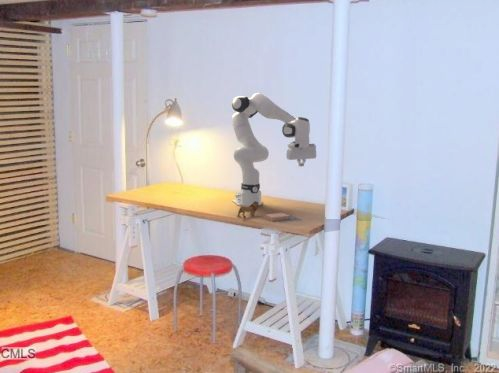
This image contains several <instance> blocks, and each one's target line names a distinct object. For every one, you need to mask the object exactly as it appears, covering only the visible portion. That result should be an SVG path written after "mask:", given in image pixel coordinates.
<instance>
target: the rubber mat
mask: <svg viewBox="0 0 499 373" xmlns="http://www.w3.org/2000/svg"><path fill="white" fill-rule="evenodd" d="M285 214H287V215H289V219H285V220H277V221H276V222H277V223H280V224H281V223H290V222H298V221H299V222H300V221H303V219H302V218H299V217H297V216H294V215H292V214H290V213H285Z"/></svg>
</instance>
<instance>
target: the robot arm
mask: <svg viewBox="0 0 499 373" xmlns="http://www.w3.org/2000/svg"><path fill="white" fill-rule="evenodd" d="M231 106H232V109H233V110H234V111H235V113H234V114H233V115H232V116H231V123H232V127H233V130H234V131H233V132H234V133H235V134H234V135H235V137H236V140H237V142H239V143H240V144H242V145H243V146H240V147H237V148H236V149H235V150H234V151H233V159H234V161H235V162H236V163H237V165H239V167H240V168H241V173H242V183H241V184H240V185H241V186H240V189H239V190H238V191H237V192H236V194H235V199H232V203H234V204H236V206H240V207H241V206H250V205H251V204H253V202H255V201H257V202H258V203H259V206H261V205H262V204H264V202H263V201H262V191H261V190H260V189H261V184H260V171H259V169H256V168H255V165H254V163H261V162H264V161H266V160H268V158H269V149H268V148H267V147H266V146H264V145H263V144H262V143H261V142H259V140H258V139H257V138H256V136H255V135H254V133H253V130H252V128H251V124H250V121H249V119H252V118H253V117H254V116H255V115H256V114H258V113H259V114H260V115H261V116H262V117H264V118H265V119H270V120H277V121H281V122H283V123H284V124H283V126H282V127H281V132H282V134H283V136H284V137H285V138H288V139H292V138H294V140H293V141H291V142H289V143H287V149H286V159H287V160H288V161H289V160H291V161H292V160H293V161H294V160H296V161H297V163H298V167H305V163H306V160H310V159H317V146H316V144H315V143H310V133H311V127H310V126H311V124H310V119H308V118H307V117H301V116H300V117H296V118H295V117H294V116H293V115H291V114H290V113H288V111H286V110H284V108H281V107H280V106H279V105H277V104H276V103H275V102H274V101H272V100H271V99H270V98H269V97H268V96H266V95H264V94H263V93H261V92H257V93H254V94H253V95H252V96H251V97H248V96H243V95H240V96H236V97H234V98H233V100H232V102H231ZM301 161H302V162H301Z"/></svg>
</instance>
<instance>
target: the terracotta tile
mask: <svg viewBox="0 0 499 373" xmlns="http://www.w3.org/2000/svg"><path fill="white" fill-rule="evenodd" d="M287 214H288V213H287ZM287 214H286V213H284V212H278V213H268V214H264V218H265V219H266V220H269V221H271V222H277V220H285V219H289V215H290V214H289V215H287Z"/></svg>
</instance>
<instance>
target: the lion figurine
mask: <svg viewBox="0 0 499 373" xmlns="http://www.w3.org/2000/svg"><path fill="white" fill-rule="evenodd" d="M259 207H260V205H259V203H258V202H257V201H255V202H253V204H251V205H250V206H240V207H239V209H238V213H237V216H236V218H239V217H241V215H240V214H242V217H243V218H246V215H245V213H249V214H250V216H253V217H255V213H256V212H257V211H258V209H259Z"/></svg>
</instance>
